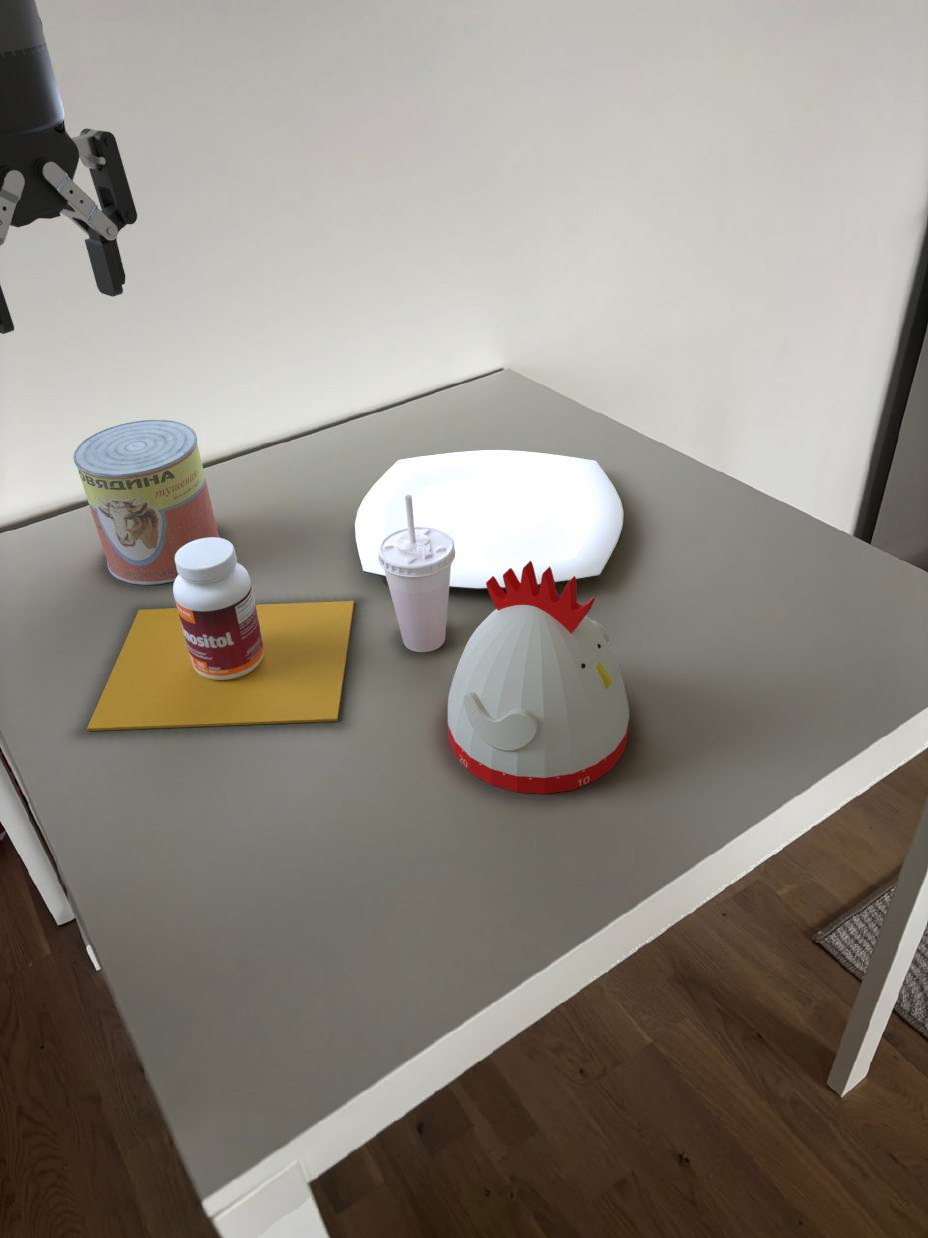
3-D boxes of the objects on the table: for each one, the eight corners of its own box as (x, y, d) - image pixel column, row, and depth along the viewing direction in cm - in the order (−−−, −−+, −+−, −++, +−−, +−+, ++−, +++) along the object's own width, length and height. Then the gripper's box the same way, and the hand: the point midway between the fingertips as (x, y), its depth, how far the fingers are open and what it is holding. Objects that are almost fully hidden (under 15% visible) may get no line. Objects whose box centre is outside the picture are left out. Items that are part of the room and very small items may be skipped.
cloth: (87, 731, 77) (86, 728, 77) (139, 612, 90) (138, 609, 90) (337, 721, 77) (337, 718, 77) (354, 603, 90) (353, 600, 90)
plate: (380, 464, 111) (379, 448, 110) (618, 465, 109) (619, 449, 107) (333, 601, 90) (331, 584, 89) (627, 607, 87) (629, 589, 86)
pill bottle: (179, 676, 82) (147, 568, 75) (215, 633, 86) (189, 527, 80) (244, 689, 80) (218, 579, 73) (278, 644, 85) (256, 536, 78)
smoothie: (435, 608, 88) (425, 472, 80) (474, 643, 84) (468, 503, 76) (374, 634, 86) (357, 495, 77) (411, 672, 81) (397, 529, 73)
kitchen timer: (576, 820, 68) (582, 653, 59) (413, 752, 74) (396, 590, 65) (656, 703, 77) (671, 543, 68) (505, 651, 83) (501, 498, 74)
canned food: (90, 584, 94) (53, 474, 87) (131, 524, 103) (100, 419, 96) (202, 585, 93) (174, 474, 86) (234, 524, 102) (211, 419, 95)
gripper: (50, 25, 64) (114, 274, 74) (-172, 55, 55) (-66, 332, 65) (116, 29, 60) (175, 292, 70) (-112, 61, 51) (-9, 356, 61)
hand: (58, 311), depth 67 cm, fingers open, 8 cm apart
